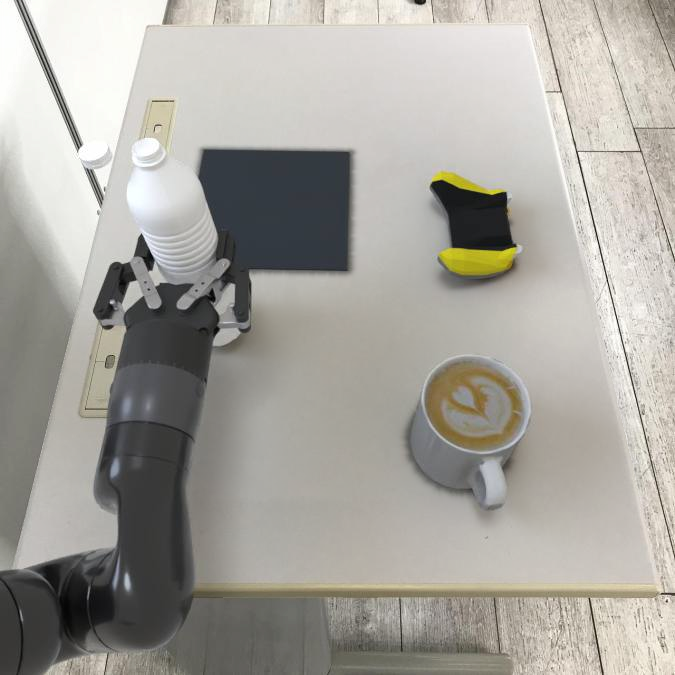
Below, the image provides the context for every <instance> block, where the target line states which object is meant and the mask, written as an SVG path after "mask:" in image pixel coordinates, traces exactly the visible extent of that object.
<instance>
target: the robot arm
mask: <svg viewBox="0 0 675 675" xmlns="http://www.w3.org/2000/svg"><path fill="white" fill-rule="evenodd" d="M235 253H236V245H235V241H234V237H233V235H229V231H228V230H227V229H220V233H219V240H218V246H217V252H216V261H217V263H216V264H215V265H214V266H213V268H212V269H211V270H210V271H209V272H208V273H204V274H203V275H202V276H201V277H200V278H199V279H198V281H197V282H196V283H195V284H194V283H184V284H179V285H175V284H171V283H165V282H159V284H158V285H155V284H154V281H153V279H152V277H151V274H150V272H153V271H154V266H155V263H156V261H155V259H154V257H153V255H152V253H151V251H150V249H149V247H148V245H147V243H146V241H145V239H144V236H143V235H142V232H141V233H140V235H139V236H138V237H137V242H136V246H135V250H134V253H133V257H132V258H131V259H130V261H127V262H123V263H122V262H120V261H114V262H111V263H110V265H109V266H108V269H107V272H106V275H105V277H104V280H103V282H102V285H101V287H100V289H99V292H98V295H97V297H96V301H95V303H94V306H93V308H92V313H93V316H94V317H95V318H96V320H97V321H98V324H99V325H100V327H101V328H102V329H103V330H104V331H110V330H112V329H113V328H114V327H115V326H118V327H125V332H124V334H123V338H122V342H121V346H120V352H119V355H118V359H117V363H116V368H115V372H114V377H113V381H112V382H111V384H110V387H109V397H108V402H107V411H106V422H105V429H104V434H103V439H102V443H101V446H100V452H99V456H98V459H97V464H96V468H95V472H94V478H93V485H92V495H93V499H94V501H95V503H96V505H98V507H100V508H101V509H102V510H103V511H105V512H107V513H109V514H111V515H115V516H116V517H117V518H116V519H117V538H116V543H115V546H109V547H102V548H97V549H91V550H86V551H82V552H78V553H72V554H69V555H66V556H61V557H57V558H54V559H50V560H47V561H44V562H40V563H36V564H34V565H30V566H27V567H24V568H15V569H4V570H0V675H46V674H47V673H48V671H49V670H50V669H51V667H53V666H56V665H58V664H61V663H63V662H66V661H70V660H73V659H78V658H81V657H86V656H90V655H95V654H98V655H99V654H126V653H145V652H152V651H154V650H159V648H162V647H164V646H165V645H166V644H168V643H169V642H170V641H172V640H173V639H174V638H175V637H176V636H177V634H178V633H179V631H180V630H181V628H182V627H183V625H184V623H185V622H186V620H187V618H188V615H189V613H190V611H191V608H192V605H193V600H194V596H195V590H196V580H197V576H196V575H197V574H196V559H195V551H194V550H195V549H194V543H193V542H194V541H193V533H192V522H191V514H190V513H191V512H190V506H189V500H188V499H189V498H188V486H189V481H190V475H191V469H192V462H193V456H194V450H195V443H196V438H197V435H198V432H199V429H200V425H201V422H202V419H203V418H202V416H203V411H204V407H205V406H204V405H205V398H206V393H207V392H206V391H207V385H208V379H209V372H210V365H211V358H212V351H213V347H214V346H213V340H214V338H215V336H216V335H217V333H218V332H219V331H220V329H226V328H238V330H239V331H240V332H241V333H240V334H246V333H249V332H250V331H251V330H252V299H253V298H252V292H253V290H252V289H253V286H252V280H251V277H250V276H251V275H250V269H249V268H248V266H247V265H244V264H241V265H238V266H237V265H235V264H234V260H235ZM136 281H137V284H138V286H139V288H140V290H141V293H142V296H140V298H139V299H138V300H136V301H135V302H134V303H133V304H132V305H131V306H130V307H129V308H128V309H126V311H125V308H124V306H123V302H124V300H125V297H126V294H127V292H128V289H129V286H130V283H132V282H133V283H134V282H136ZM231 283H232V284H235V303H234V302H231V303H230V304H229V306H228V307H227V310H226V312H225V313H224V314H221V315H219V314H218V312H217V311H216V309H215V306H216V305H217V304H218V303H219V302H220V300H221V298H222V294H223V293H224V291H225V290H226V289H227V288H228V287H229V285H230V284H231ZM212 346H213V347H212Z"/></svg>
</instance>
